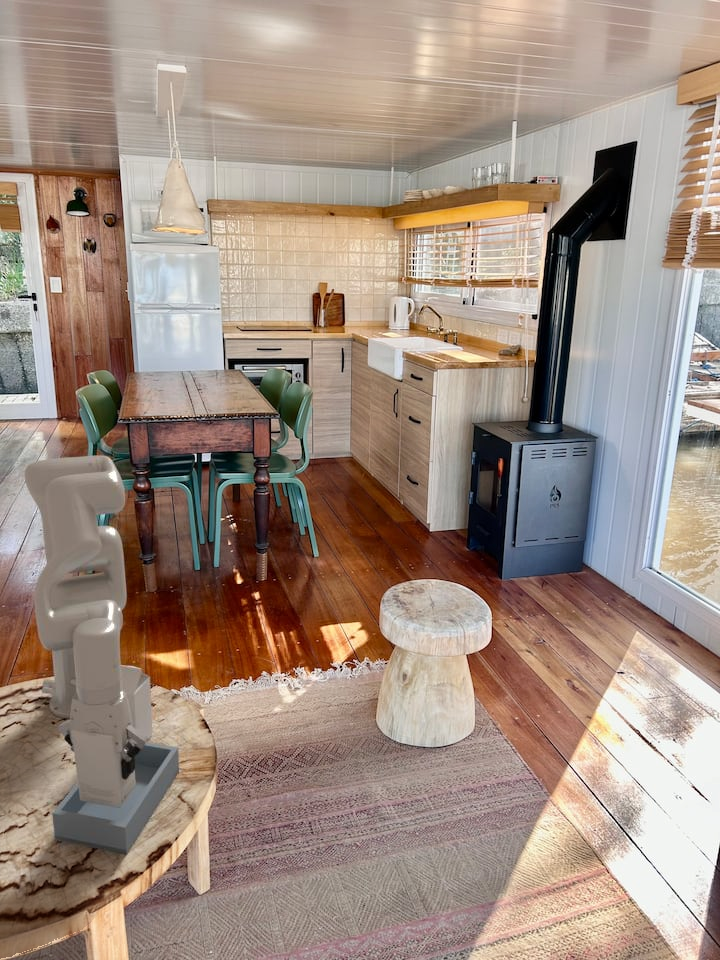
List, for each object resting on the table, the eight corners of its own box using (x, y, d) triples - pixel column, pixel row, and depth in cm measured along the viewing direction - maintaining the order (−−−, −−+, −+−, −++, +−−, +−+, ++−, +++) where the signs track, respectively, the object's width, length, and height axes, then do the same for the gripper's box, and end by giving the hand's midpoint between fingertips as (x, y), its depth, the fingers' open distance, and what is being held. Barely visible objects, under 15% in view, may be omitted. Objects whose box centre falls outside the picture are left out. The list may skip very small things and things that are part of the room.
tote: (55, 840, 133) (52, 813, 131) (115, 760, 153) (114, 736, 152) (126, 854, 130) (125, 827, 129) (178, 772, 151) (178, 747, 149)
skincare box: (136, 786, 138) (133, 715, 133) (118, 811, 132) (113, 738, 127) (96, 777, 140) (91, 707, 135) (76, 801, 133) (70, 729, 129)
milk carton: (137, 755, 155) (132, 678, 149) (106, 750, 156) (100, 672, 150) (152, 735, 162) (149, 659, 156) (123, 729, 163) (118, 654, 157)
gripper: (41, 692, 127) (50, 776, 132) (135, 707, 124) (140, 792, 129) (66, 669, 134) (73, 749, 139) (155, 683, 131) (159, 764, 136)
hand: (105, 770), depth 134 cm, fingers closed on skincare box, 8 cm apart
